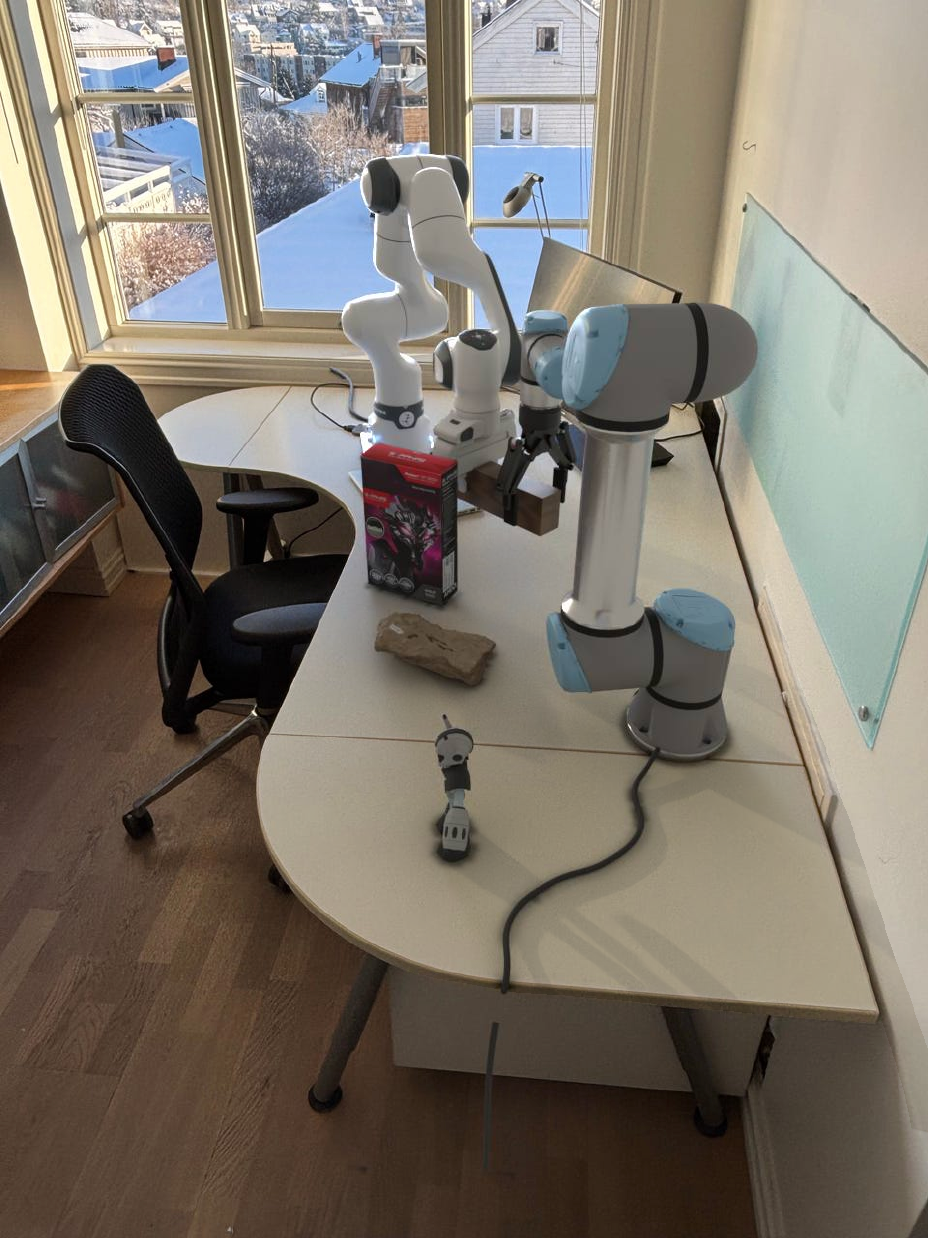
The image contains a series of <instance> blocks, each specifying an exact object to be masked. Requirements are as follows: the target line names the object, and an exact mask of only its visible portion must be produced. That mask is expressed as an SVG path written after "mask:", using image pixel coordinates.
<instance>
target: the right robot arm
mask: <svg viewBox="0 0 928 1238" xmlns="http://www.w3.org/2000/svg"><path fill="white" fill-rule="evenodd" d="M576 316H577V317H576V318H575V320H574V321H573V322H572V324H571V326H570V328H569V327H568V325H569V323H568V318H567V316H566V315H565V314H564V313H562V312H560V311H556V310H551V309H538V310H533V311H530V312H528V313H526V314H525V316H524V317H523V320H522V329H521V334H520V335H521V337H522V354H521V379H520V386H519V401H520V402H519V405H518V424H519V426H520V428H521V434H520V436H519V437H518V436H517V438H514V437H510V438H509V439H508V447H507V452H506V454H505V457H503V460H502V463H501V465H502V466H501V469H500V472H499V475H498V477H497V480H496V483H495V486H494V490H496V491H498V492H500V493H503V501H502V506H503V508H504V517H503V519H502V522H503V523H505V524H507V525H509V526H512V527H518V526H517V512H518V493H517V492H515V491H516V489H517V487H518V485H519V483H520V481H521V480H522V478H523V476H524V475H526V472H527V470H528V468H529V466H530V464H531V463H533V462H534V461H535V459H536V458H537V457H539V456H540V455H542V454H545V453H548V455H549V456H550V458H551V459H552V460H553V462H554V463H555V465H556V466H554V467H553V468H552V469H553V470H552V473H553V475H552V485H551V486H552V487H555V488H557V489H560V490H561V498H560V504H565V502H566V491H567V490H566V489H567V484H568V479H569V478H568V477H569V472H572V471H574V467H575V466H574V464H575V465H576V463H577V462H578V458H577V454H576V451H575V447H574V444H573V441H572V438H571V434H570V422H569V421H566V420H564V419H562V413H563V406H562V403H563V402H565V405H566V406H568V407H569V408H572V409H573V410H574V412H573V414H574V419H575V421H576V423H578V424H579V426H580V427H581V428H582V429H584V431H585V432H584V443H583V444H584V445H583V456H582V467H581V468H582V470H581V482H580V495H579V508H578V519H577V520H578V522H577V533H576V536H577V537H576V546H575V560H574V572H573V584H572V585H573V586H572V589H570V590H569V591H568V592H566V593H565V594H564V595H563V596H562V599H561V602H560V610H559V611H560V612H557V611H554V612H552V613H550V614H548V615H547V619H546V621H545V623H546V625H545V626H546V627H545V628H546V639H547V645H548V651H549V656H550V661H551V665H552V670H553V673H554V675H555V678H556V681H557V683H558V685H559V687H560V688H561V689H562V690H563V691H565V692H567V693H571V694H572V693H574V694H575V693H588V694H593V693H594V692H595V693H596V692H597V693H598V692H608V691H621V690H631V689H637V690H636V691H635V692H634V694H633V695H632V696H631V697H632V698H633V699H632V701H631V702H630V704H629V706H628V708H627V711H626V719H625V728H626V732H627V734H628V736H629V738H630V739H631V741H632V742H634V744H636V745H637V746H638V747H639V748H640V749H641V750H643V751H645V752H646V753H648V754H650V756H649V759H648V760H647V761H646V763H645V765H644V767H643V768H642V769H641V771H640V772H639V774H638V775H637V777H636V778H635V780H634V781H633V785H632V788H631V797H632V802H633V805H634V809H635V812H636V815H637V819H638V822H637V828H636V831H635V833H634V834H633V836H632V838H630V840H629V841H628V842H627V843H626V844H625V845H624V846H623V847H622V848H620V849H619V850H617V851H615V852H614V853H613V854H611V855H608V857H606V858H604V859H603V860H601V861H599V862H596V863H593V864H591V865H589V866H588V865H587V866H586V867H582V868H579V869H574V870H572V871H567V872H564V873H562V874H560V875H557V876H554V877H553V878H551V879H549V880H547V881H546V882H544V883H542V884H541V885H539V886H538V887H535V888H534V889H533V890H531V891H530V892H528V893H527V894H526V895H525V896H524V897H522V898H521V899H520V900H519V901H518V902H517V904H515V906H514V907H513V909H512V910H511V912H510V913H509V915H508V917H507V919H506V921H505V924H504V927H503V930H502V953H503V972H502V973H503V975H502V981H501V987H500V994H501V995H507V993H508V992H509V986H510V980H511V968H512V964H511V963H512V961H511V948H510V947H511V946H510V933H511V929H512V926H513V924H514V921H515V919H516V917H517V916H518V914H519V913H520V911H521V910H522V909H523V908H524V907H525V906H526V905H527V904H528V903H529V902H530V901H532V900H533V899H534V898H536V897H537V896H539V895H540V894H542V893H544V892H545V891H547V890H548V889H550V888H552V887H553V886H556V885H557V884H559V883H561V882H564V881H567V880H570V879H573V878H575V877H580V876H583V875H587V874H591V873H593V872H596V871H598V870H601V869H603V868H605V867H607V866H609V865H611V864H612V863H614V862H615V861H616V860H618V859H620V858H621V857H623V856H624V855H625V854H626V853H628V852H629V851H631V849H632V848H634V846H635V845H636V844H637V843H638V842H639V839H640V838H641V836H642V834H643V831H644V828H645V816H644V812H643V809H642V807H641V806H642V805H641V804H640V800H639V795H638V793H639V792H638V791H639V786H640V784H641V782H642V780H644V779H643V778H644V777H645V776H646V774H647V773H648V772H649V770H650V769H651V767H652V766H653V764H654V762H655V761H656V759H657V758H659V759H662V760H666V761H670V762H675V763H694V762H700V761H703V760H706V759H709V758H711V757H714V755H716V754H718V752H720V751H721V750H722V748H723V747H724V744H725V743H726V740H727V739H726V738H727V733H728V721H727V716H726V712H725V708H724V707H725V706H724V701H723V692H724V686H725V682H726V678H727V674H728V669H729V664H730V659H731V654H732V651H733V650H732V649H733V648H734V646H735V632H736V618H735V617H734V614H733V612H732V611H731V609H730V608H729V607H728V606H727V605H726V604H725V603H723V602H722V601H721V600H719V599H718V598H716V597H715V596H712V595H710V594H708V593H706V592H704V591H699V590H696V589H691V588H682V587H680V588H679V587H678V588H677V587H676V588H668V589H665V590H663V591H662V592H660V593H659V594H658V595H657V596H656V598H655V599H654V601H653V606H645V604H644V602H643V601H642V600H641V598H640V597H639V596H638V595H636V592H637V586H638V585H637V584H638V576H639V568H640V561H641V552H642V551H641V550H642V542H643V534H644V527H645V526H644V525H645V517H646V509H647V503H648V502H647V501H648V494H649V493H648V492H649V483H650V478H651V477H650V475H651V467H652V460H653V450H654V442H655V436H656V435H657V434H658V433H659V432H661V431H662V430H663V429H664V428H666V427H667V426H668V424H669V422H670V413H671V407H672V405H678V404H679V405H680V404H696V403H704V402H708V401H713V400H716V399H720V398H723V397H725V396H727V395H729V394H731V393H732V392H734V391H736V390H737V389H739V388H740V387H741V386H742V385H743V384H744V383H745V382H746V381H747V380H748V378H749V377H750V376H751V374H752V372H753V371H754V368H755V366H756V363H757V360H758V351H759V348H758V340H757V339H758V338H757V336H756V334H755V331H754V328H753V327H752V326H751V324H750V323H749V321H748V320H747V319H745V318H744V317H743V316H742V315H741V314H739V312H737V311H736V310H733V309H731V308H729V307H727V306H725V305H722V304H717V303H713V302H712V303H711V302H702V301H695V302H684V303H683V302H677V303H676V302H675V303H674V302H673V303H620V302H618V303H613V304H611V305H600V306H590V307H589V308H586V309H583V310H582V311H581V312H580V313H579V314H578V315H576ZM568 328H569V329H568ZM525 452H526V453H525ZM510 485H511V487H510ZM499 1027H500V1022H495V1021H492V1022H491V1028H490V1036H489V1041H488V1042H489V1043H488V1049H487V1058H486V1059H487V1060H486V1068H485V1069H486V1070H485V1082H484V1105H483V1106H484V1107H483V1108H484V1112H483V1153H482V1172H483V1173H485V1174H486V1173H488V1172H489V1167H490V1166H489V1165H490V1150H491V1149H490V1148H491V1114H492V1113H491V1110H492V1107H491V1106H492V1087H493V1086H492V1085H493V1073H494V1063H495V1053H496V1047H497V1040H498V1033H499Z"/></svg>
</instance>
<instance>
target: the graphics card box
mask: <svg viewBox="0 0 928 1238" xmlns="http://www.w3.org/2000/svg"><path fill="white" fill-rule="evenodd" d="M359 458H360V470H361V486H362V487H361V488H362V504H363V518H364V534H365V535H364V537H365V551H366V572H367V584H369V585H371V586H374V587H378V588H382V589H384V590H387V591H390V592H391V591H392V592H395V593H397V594H402V595H406V596H408V597H412V598H415V599H418V600H422V601H426V602H429V603H433V604H435V605H439V606H443V605H444V604H446V602H448V601H449V600H450V599H451V598H452V597H453V596H454V595H455V594H456V593H457V592H458V589H459V584H458V583H459V576H458V575H459V574H458V573H459V555H458V554H459V553H458V552H459V551H458V550H459V548H458V547H459V545H458V542H459V541H458V537H459V536H458V535H459V534H458V532H459V531H458V506H459V505H458V503H459V502H458V500H459V499H458V498H457V495H458V461H457V459H449V458H444V457H440V456H435V455H432V454H431V453H430V454H427V453H422V452H418V451H414V450H410V449H405V448H401V447H397V446H392V445H388V444H384V443H379V442H378V443H376V444H374V445H373V446H371V447H370V448H368V449H367V450H366V451H365V452H364V453H363V452H362V454H361V455H360V457H359Z"/></svg>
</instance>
